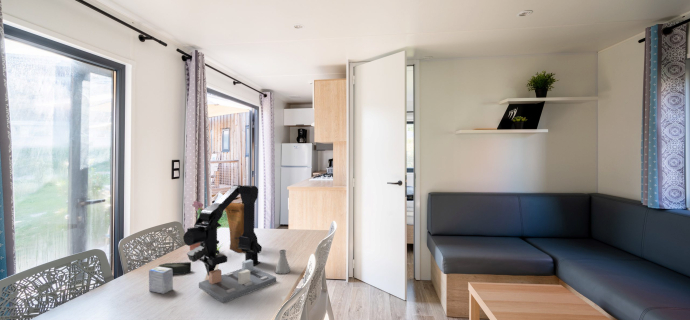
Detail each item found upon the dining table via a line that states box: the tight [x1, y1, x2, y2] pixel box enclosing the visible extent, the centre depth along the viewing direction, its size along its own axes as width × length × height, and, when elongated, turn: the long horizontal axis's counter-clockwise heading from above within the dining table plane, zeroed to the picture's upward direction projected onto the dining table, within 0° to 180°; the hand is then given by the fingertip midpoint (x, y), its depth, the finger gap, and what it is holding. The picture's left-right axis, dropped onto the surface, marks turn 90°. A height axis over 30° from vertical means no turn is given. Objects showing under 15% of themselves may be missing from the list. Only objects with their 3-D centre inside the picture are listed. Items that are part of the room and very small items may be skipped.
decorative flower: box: [189, 200, 205, 251], centre depth 159 cm, size 15×14×30 cm
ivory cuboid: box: [238, 270, 250, 285], centre depth 120 cm, size 2×4×4 cm, turn 140°
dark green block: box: [157, 261, 192, 275], centre depth 134 cm, size 5×3×15 cm
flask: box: [274, 249, 291, 275], centre depth 137 cm, size 7×7×10 cm
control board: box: [198, 266, 277, 304], centre depth 123 cm, size 20×24×3 cm
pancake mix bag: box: [224, 202, 245, 254], centre depth 167 cm, size 7×19×28 cm, turn 49°
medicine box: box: [148, 266, 174, 295], centre depth 117 cm, size 8×4×9 cm, turn 71°
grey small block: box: [241, 259, 254, 271], centre depth 131 cm, size 2×4×4 cm, turn 140°
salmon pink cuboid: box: [208, 268, 222, 284], centre depth 120 cm, size 2×4×4 cm, turn 140°
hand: (209, 275), depth 123 cm, fingers closed
